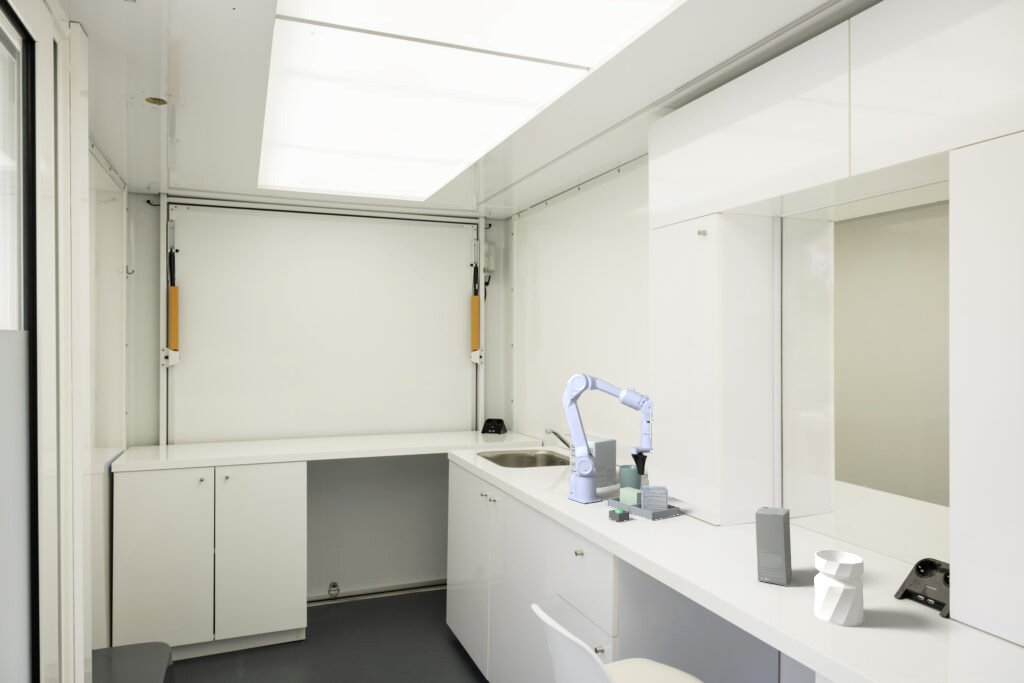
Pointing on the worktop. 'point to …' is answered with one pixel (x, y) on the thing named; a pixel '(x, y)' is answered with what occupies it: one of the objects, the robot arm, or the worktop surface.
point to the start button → (619, 510)
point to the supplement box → (599, 459)
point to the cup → (629, 477)
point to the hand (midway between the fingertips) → (649, 473)
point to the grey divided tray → (642, 512)
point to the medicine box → (654, 498)
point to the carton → (630, 495)
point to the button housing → (619, 515)
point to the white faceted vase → (838, 588)
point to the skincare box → (773, 545)
